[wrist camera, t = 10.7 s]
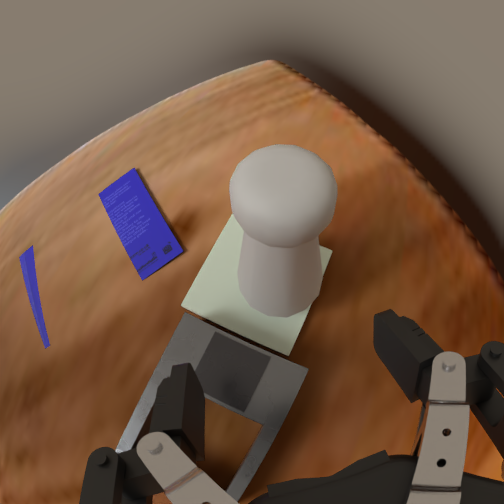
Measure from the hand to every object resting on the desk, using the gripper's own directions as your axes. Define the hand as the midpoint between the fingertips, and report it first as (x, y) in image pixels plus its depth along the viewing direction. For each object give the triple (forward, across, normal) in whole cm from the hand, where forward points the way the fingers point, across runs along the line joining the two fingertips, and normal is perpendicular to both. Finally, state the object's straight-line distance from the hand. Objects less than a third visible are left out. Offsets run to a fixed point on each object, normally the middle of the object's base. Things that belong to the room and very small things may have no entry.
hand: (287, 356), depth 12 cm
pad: (+12, 0, +2) cm, 12 cm away
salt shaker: (+11, -1, +2) cm, 11 cm away
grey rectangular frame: (+5, +6, +9) cm, 11 cm away
